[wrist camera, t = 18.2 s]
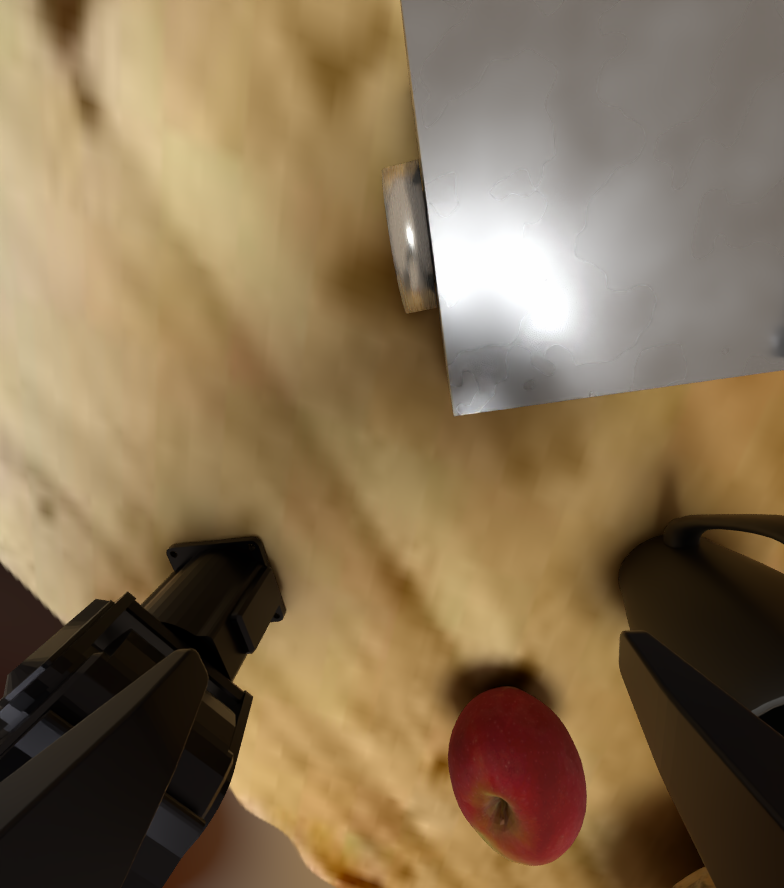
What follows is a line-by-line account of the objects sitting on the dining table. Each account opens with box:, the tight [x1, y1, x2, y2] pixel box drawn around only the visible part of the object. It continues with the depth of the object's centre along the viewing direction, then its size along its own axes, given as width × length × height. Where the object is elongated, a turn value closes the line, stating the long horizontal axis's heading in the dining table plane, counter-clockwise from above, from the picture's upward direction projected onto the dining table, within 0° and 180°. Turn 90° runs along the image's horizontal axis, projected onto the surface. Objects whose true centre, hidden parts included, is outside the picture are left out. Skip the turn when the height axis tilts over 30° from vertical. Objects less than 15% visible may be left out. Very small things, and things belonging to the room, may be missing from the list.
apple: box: [448, 686, 587, 866], centre depth 22 cm, size 8×8×8 cm
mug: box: [618, 514, 784, 737], centre depth 16 cm, size 8×12×10 cm
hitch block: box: [400, 0, 784, 416], centre depth 12 cm, size 11×12×7 cm
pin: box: [382, 160, 437, 313], centre depth 13 cm, size 15×5×5 cm, turn 100°
